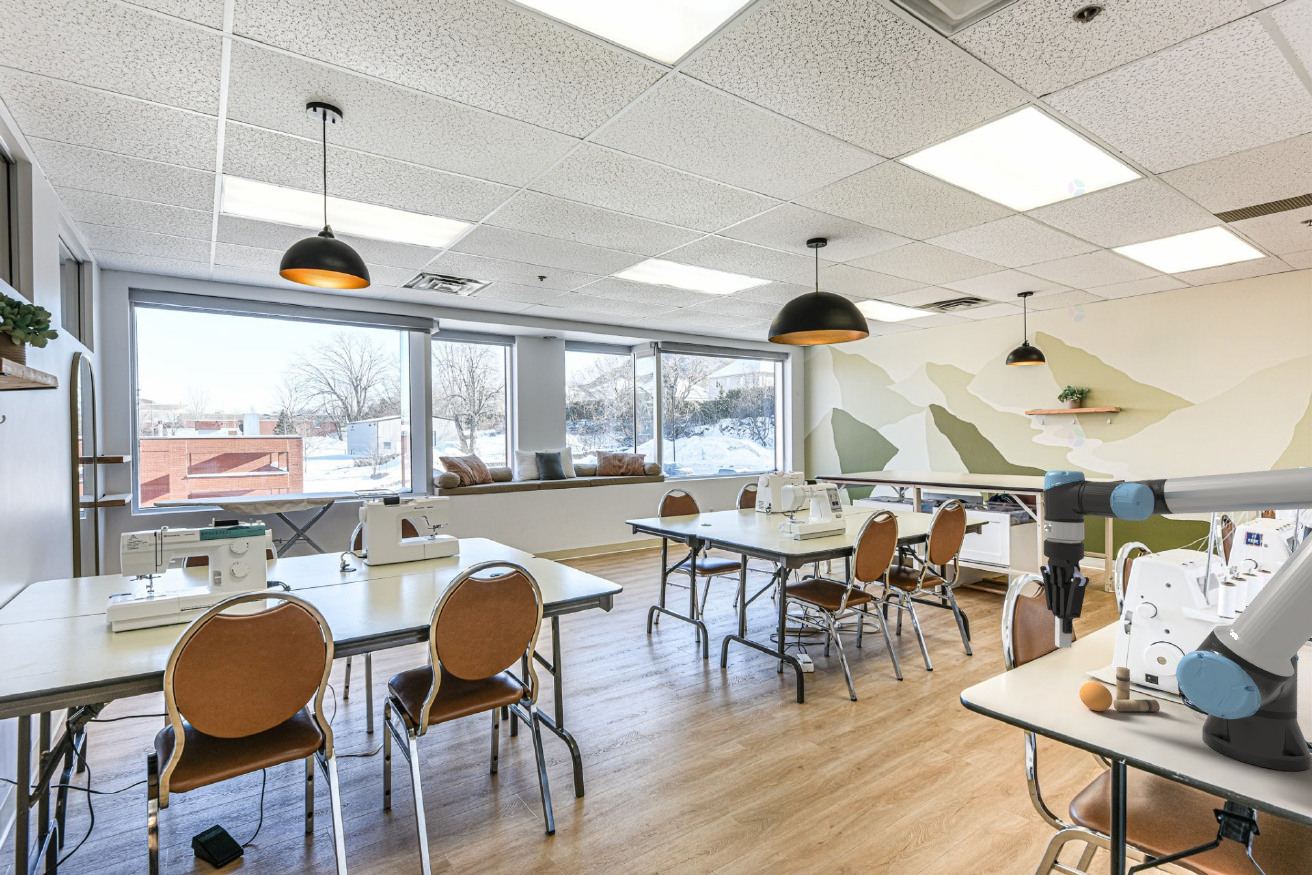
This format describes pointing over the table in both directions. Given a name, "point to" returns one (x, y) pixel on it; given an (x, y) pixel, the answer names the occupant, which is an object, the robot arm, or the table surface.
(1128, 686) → the pin
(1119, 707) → the pin
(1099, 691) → the orange egg
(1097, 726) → the table surface
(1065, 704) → the table surface
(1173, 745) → the table surface
